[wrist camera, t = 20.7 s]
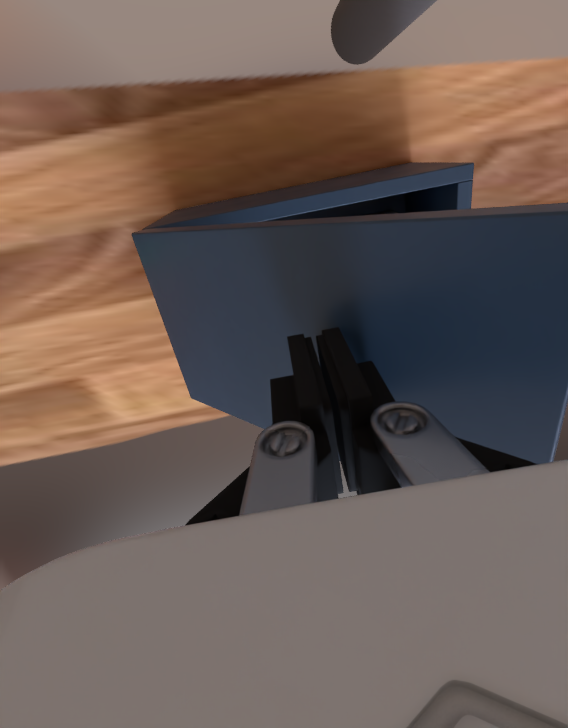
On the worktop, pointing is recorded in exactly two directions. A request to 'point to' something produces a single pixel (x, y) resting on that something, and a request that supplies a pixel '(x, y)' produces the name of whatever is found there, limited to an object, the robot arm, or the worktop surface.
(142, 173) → the worktop surface
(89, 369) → the worktop surface
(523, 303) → the lid
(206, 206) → the chest
